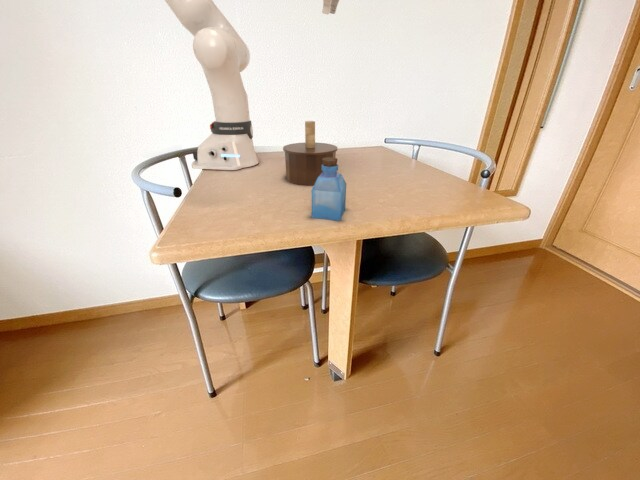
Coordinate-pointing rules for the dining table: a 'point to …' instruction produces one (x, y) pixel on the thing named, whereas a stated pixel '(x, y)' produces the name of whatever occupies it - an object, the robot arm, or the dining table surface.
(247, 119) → the robot arm
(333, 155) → the dark brown pot
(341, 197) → the perfume bottle
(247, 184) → the dining table surface
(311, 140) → the lid
